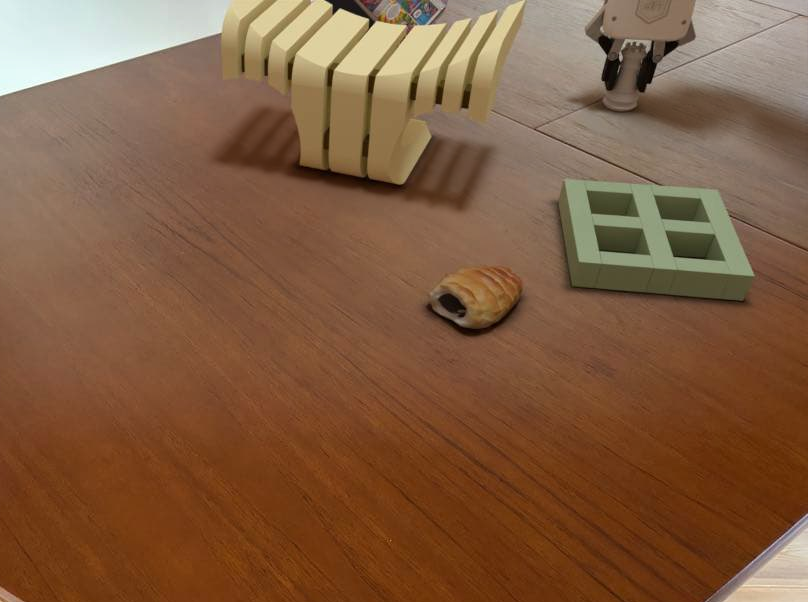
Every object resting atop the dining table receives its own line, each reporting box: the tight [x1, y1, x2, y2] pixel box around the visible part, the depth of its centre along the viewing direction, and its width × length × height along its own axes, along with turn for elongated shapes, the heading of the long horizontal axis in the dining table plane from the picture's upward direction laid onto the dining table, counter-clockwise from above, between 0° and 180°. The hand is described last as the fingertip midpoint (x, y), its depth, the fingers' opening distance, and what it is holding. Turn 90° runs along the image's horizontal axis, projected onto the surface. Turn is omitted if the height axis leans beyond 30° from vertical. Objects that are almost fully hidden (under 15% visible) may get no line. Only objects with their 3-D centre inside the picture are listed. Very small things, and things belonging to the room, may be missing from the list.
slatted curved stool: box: [220, 0, 527, 186], centre depth 100 cm, size 30×16×18 cm, turn 67°
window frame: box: [557, 178, 755, 302], centre depth 90 cm, size 16×16×3 cm
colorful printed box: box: [311, 0, 449, 53], centre depth 121 cm, size 20×22×18 cm
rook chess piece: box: [602, 41, 647, 113], centre depth 113 cm, size 4×4×8 cm
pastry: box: [428, 265, 524, 330], centre depth 83 cm, size 9×7×4 cm
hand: (624, 86), depth 114 cm, fingers closed on rook chess piece, 3 cm apart
